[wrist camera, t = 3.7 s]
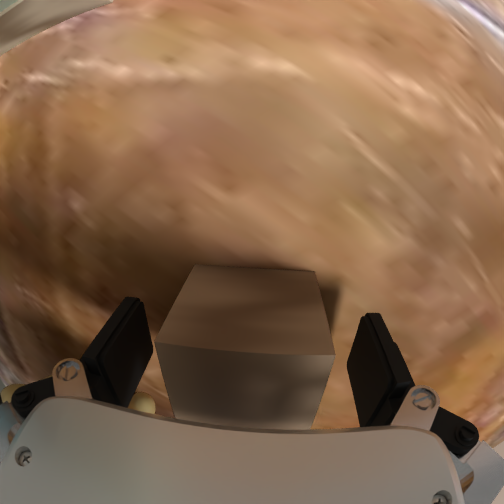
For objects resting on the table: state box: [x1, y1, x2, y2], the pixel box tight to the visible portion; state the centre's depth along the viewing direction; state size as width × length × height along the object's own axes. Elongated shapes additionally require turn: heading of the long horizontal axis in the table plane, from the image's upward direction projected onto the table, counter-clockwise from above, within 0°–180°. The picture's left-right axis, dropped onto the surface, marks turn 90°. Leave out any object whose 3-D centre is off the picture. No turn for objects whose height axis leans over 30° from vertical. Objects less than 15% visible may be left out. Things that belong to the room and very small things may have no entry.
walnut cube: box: [154, 264, 335, 430], centre depth 11 cm, size 5×5×5 cm
